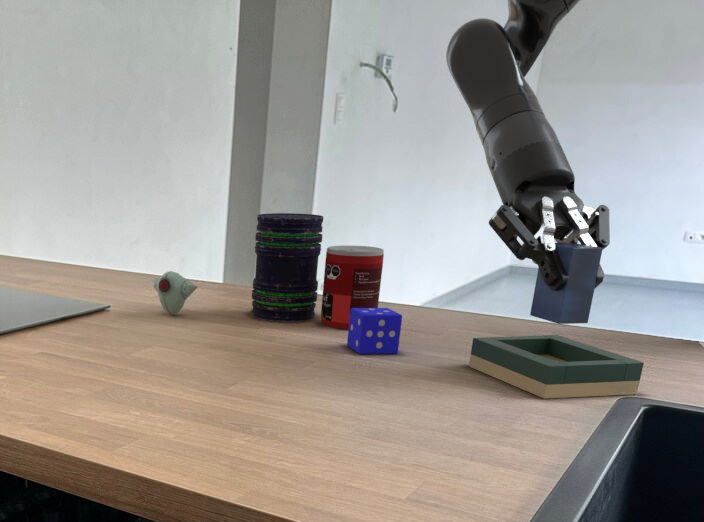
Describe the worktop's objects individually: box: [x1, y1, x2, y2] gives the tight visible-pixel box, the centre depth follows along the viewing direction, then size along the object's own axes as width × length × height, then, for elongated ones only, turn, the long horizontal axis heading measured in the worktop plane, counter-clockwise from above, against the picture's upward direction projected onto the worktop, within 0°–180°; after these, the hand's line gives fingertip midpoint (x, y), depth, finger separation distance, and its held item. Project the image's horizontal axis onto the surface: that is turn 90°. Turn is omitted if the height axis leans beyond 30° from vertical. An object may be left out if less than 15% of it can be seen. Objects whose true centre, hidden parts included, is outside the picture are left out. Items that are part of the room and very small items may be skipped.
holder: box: [468, 334, 645, 400], centre depth 96 cm, size 11×14×4 cm
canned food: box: [320, 245, 385, 330], centre depth 124 cm, size 8×8×11 cm
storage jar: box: [251, 212, 324, 323], centre depth 130 cm, size 10×10×15 cm
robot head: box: [152, 270, 199, 316], centre depth 132 cm, size 8×4×7 cm, turn 46°
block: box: [529, 242, 604, 325], centre depth 93 cm, size 4×5×8 cm
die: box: [346, 307, 403, 355], centre depth 110 cm, size 5×5×5 cm
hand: (577, 285), depth 92 cm, fingers closed on block, 3 cm apart
